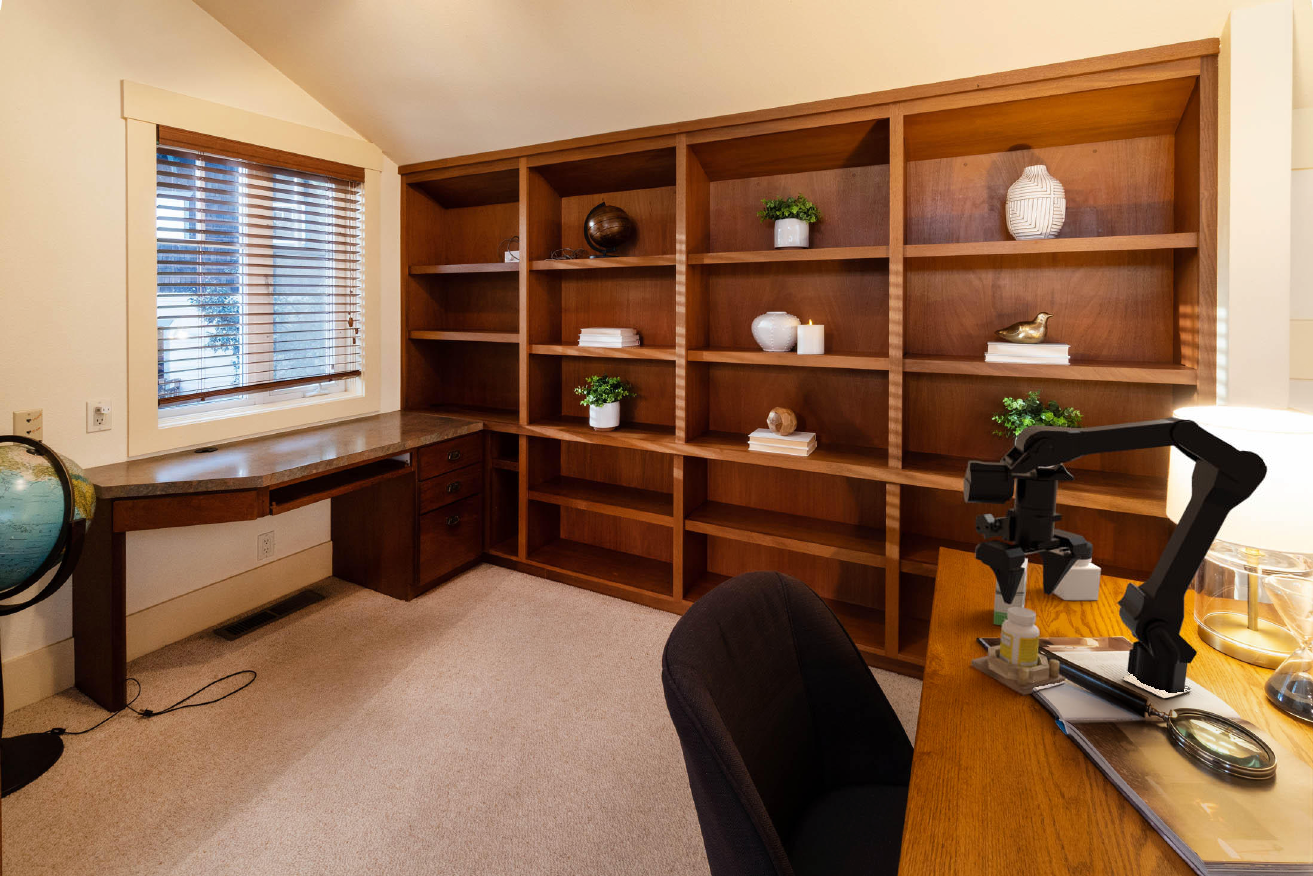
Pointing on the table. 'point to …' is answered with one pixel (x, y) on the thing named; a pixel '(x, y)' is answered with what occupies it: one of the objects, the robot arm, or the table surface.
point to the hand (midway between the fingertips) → (1027, 598)
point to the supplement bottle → (1019, 638)
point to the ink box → (1018, 600)
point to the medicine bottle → (1081, 579)
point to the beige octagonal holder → (1019, 671)
